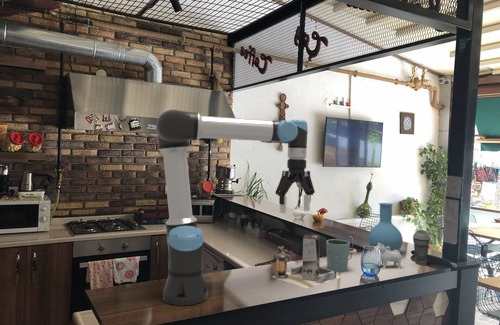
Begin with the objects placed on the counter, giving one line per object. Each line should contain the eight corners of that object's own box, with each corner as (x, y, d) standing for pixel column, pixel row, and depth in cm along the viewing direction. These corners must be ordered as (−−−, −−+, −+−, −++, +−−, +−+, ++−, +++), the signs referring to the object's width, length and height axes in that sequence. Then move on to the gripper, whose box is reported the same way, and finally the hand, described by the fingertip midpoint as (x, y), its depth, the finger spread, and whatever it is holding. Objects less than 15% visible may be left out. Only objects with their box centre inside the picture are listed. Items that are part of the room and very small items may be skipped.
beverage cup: (422, 267, 174) (423, 222, 173) (408, 263, 180) (409, 219, 180) (433, 264, 178) (433, 221, 177) (418, 261, 184) (419, 218, 183)
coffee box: (318, 281, 149) (319, 239, 149) (301, 279, 151) (302, 238, 150) (319, 274, 158) (320, 234, 158) (303, 272, 160) (304, 233, 159)
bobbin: (281, 279, 151) (281, 257, 151) (272, 276, 155) (272, 254, 154) (290, 276, 154) (290, 255, 154) (281, 273, 158) (281, 252, 158)
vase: (366, 254, 196) (367, 204, 195) (369, 247, 211) (370, 201, 210) (402, 257, 189) (403, 206, 189) (402, 250, 205) (403, 202, 204)
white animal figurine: (370, 265, 175) (370, 242, 175) (397, 265, 176) (398, 241, 176) (374, 269, 170) (375, 244, 170) (403, 268, 171) (403, 244, 171)
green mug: (337, 264, 176) (338, 238, 176) (354, 270, 168) (355, 242, 167) (320, 267, 171) (321, 240, 170) (337, 273, 162) (338, 245, 162)
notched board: (306, 291, 141) (306, 281, 141) (271, 278, 154) (271, 270, 154) (342, 279, 155) (343, 270, 155) (308, 268, 169) (308, 260, 169)
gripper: (281, 158, 145) (279, 215, 145) (324, 159, 161) (322, 211, 161) (267, 157, 151) (265, 212, 151) (310, 159, 167) (308, 208, 167)
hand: (295, 211), depth 156 cm, fingers open, 13 cm apart
